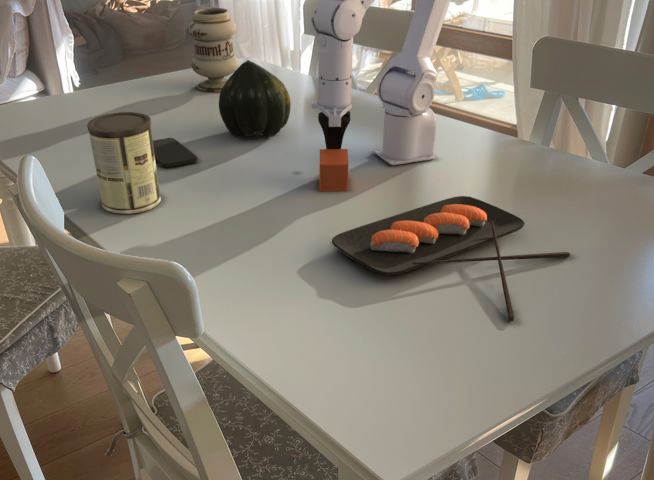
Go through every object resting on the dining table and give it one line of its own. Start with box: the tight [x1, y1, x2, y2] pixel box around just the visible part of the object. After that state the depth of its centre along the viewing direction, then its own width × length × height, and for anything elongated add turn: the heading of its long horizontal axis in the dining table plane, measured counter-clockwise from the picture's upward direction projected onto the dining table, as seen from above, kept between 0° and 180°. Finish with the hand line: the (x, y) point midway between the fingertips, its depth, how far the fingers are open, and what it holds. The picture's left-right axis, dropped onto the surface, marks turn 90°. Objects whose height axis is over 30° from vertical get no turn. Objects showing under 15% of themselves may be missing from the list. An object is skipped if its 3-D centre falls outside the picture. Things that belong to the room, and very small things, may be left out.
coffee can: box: [86, 111, 162, 215], centre depth 120 cm, size 10×10×14 cm
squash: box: [218, 59, 292, 138], centre depth 149 cm, size 14×15×15 cm
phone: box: [153, 137, 198, 168], centre depth 142 cm, size 7×1×15 cm
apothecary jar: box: [188, 7, 240, 93], centre depth 178 cm, size 12×12×18 cm
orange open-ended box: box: [318, 148, 350, 192], centre depth 126 cm, size 6×5×5 cm
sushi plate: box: [331, 195, 571, 322], centre depth 102 cm, size 29×30×4 cm
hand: (333, 154), depth 129 cm, fingers closed
